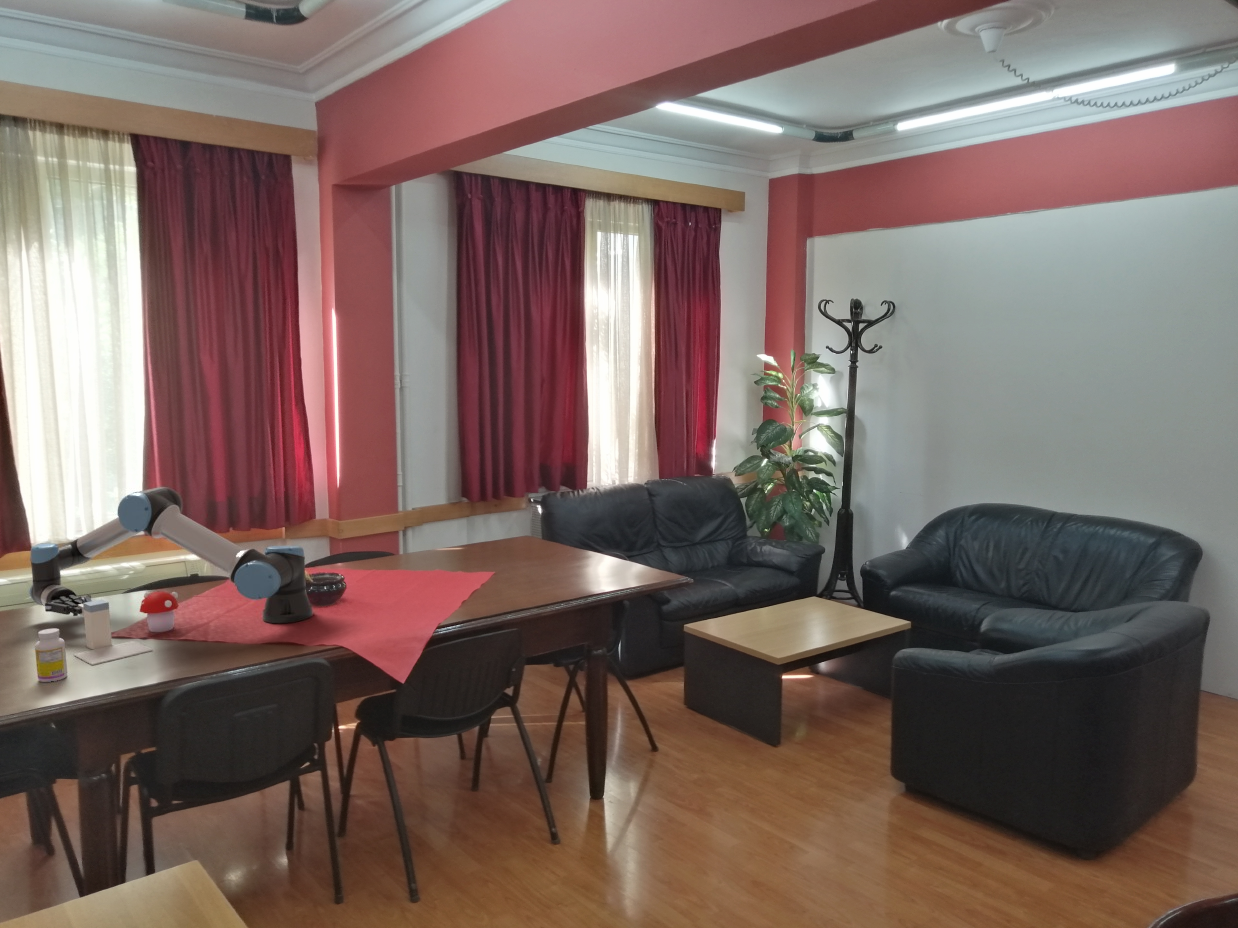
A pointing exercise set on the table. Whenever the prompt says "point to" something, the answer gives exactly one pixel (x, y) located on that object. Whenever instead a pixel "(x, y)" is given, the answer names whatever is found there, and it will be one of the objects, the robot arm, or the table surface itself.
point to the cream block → (97, 624)
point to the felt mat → (112, 652)
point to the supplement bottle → (50, 656)
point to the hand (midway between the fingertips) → (89, 612)
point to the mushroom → (159, 610)
